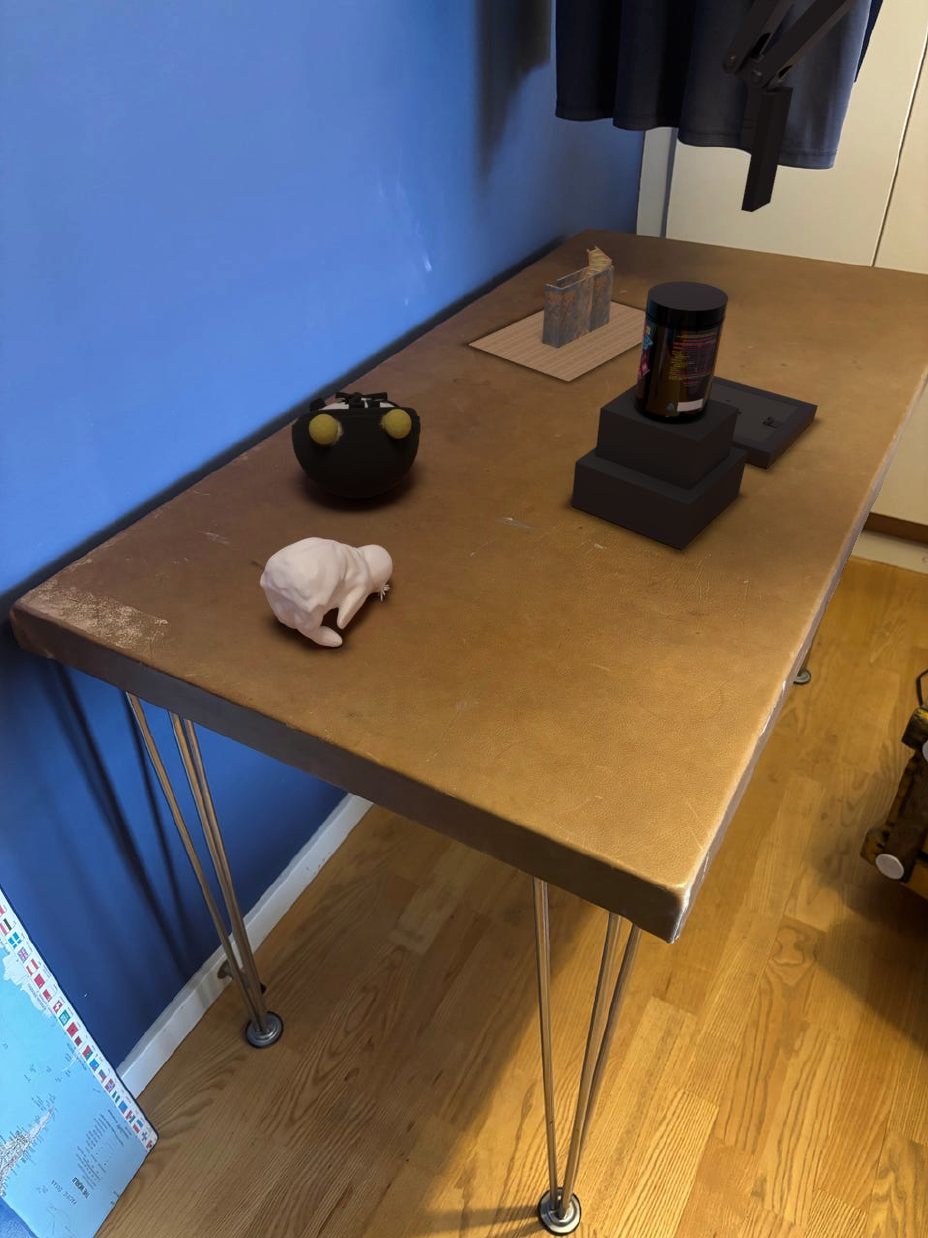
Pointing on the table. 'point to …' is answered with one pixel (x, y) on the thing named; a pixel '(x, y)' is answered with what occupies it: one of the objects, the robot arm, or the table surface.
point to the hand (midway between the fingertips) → (861, 227)
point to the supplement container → (679, 350)
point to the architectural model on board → (571, 325)
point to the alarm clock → (356, 443)
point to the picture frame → (763, 419)
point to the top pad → (665, 440)
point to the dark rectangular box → (655, 497)
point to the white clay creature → (323, 583)
